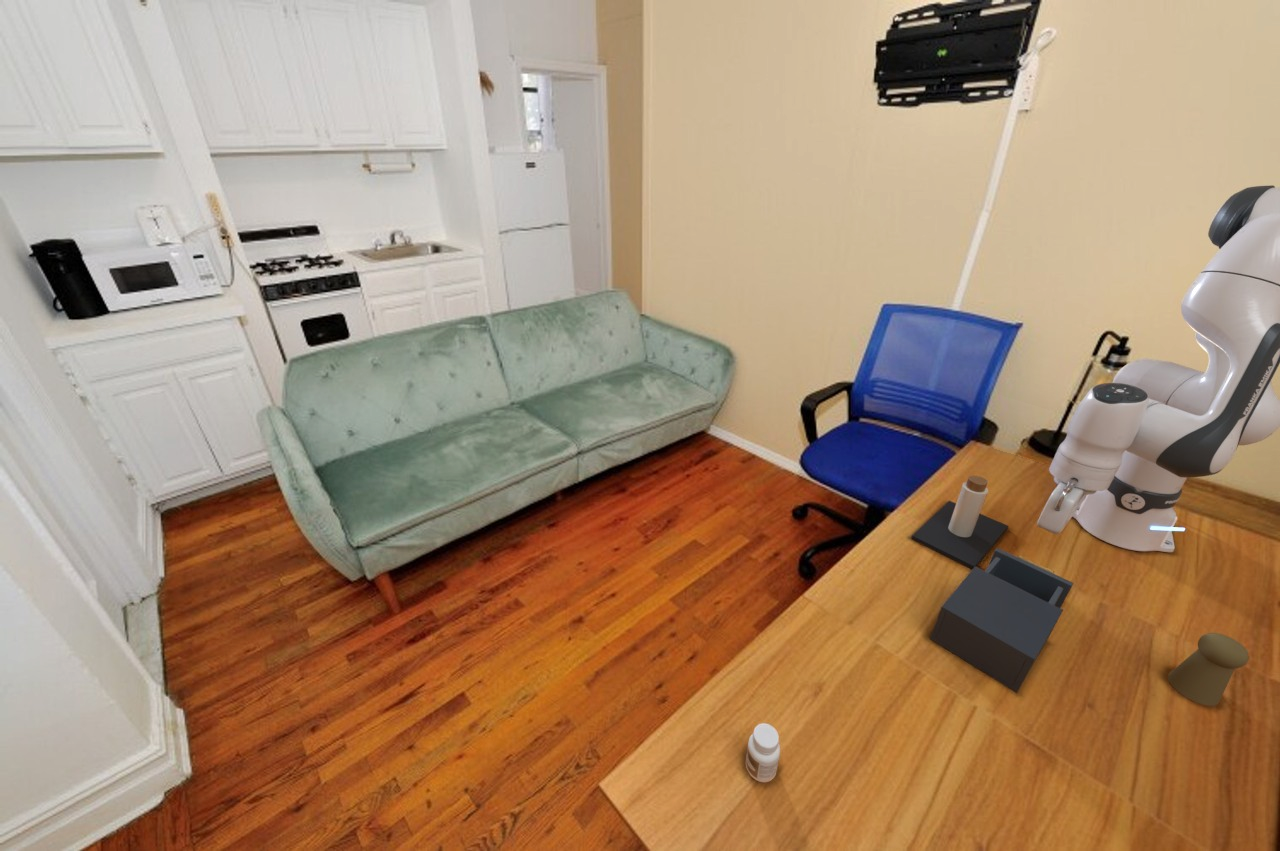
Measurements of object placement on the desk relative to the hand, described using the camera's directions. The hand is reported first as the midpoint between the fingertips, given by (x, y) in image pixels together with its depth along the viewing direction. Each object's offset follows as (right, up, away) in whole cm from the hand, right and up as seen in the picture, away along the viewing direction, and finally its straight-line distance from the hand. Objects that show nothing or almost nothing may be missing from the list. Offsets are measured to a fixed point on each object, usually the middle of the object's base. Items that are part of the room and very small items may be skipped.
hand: (1052, 529), depth 98 cm
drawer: (-8, -14, -1) cm, 16 cm away
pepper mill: (-7, -4, +17) cm, 19 cm away
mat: (-7, -5, +18) cm, 20 cm away
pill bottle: (-63, -29, -26) cm, 74 cm away
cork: (+9, -23, -16) cm, 29 cm away
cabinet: (-18, -19, -8) cm, 27 cm away
